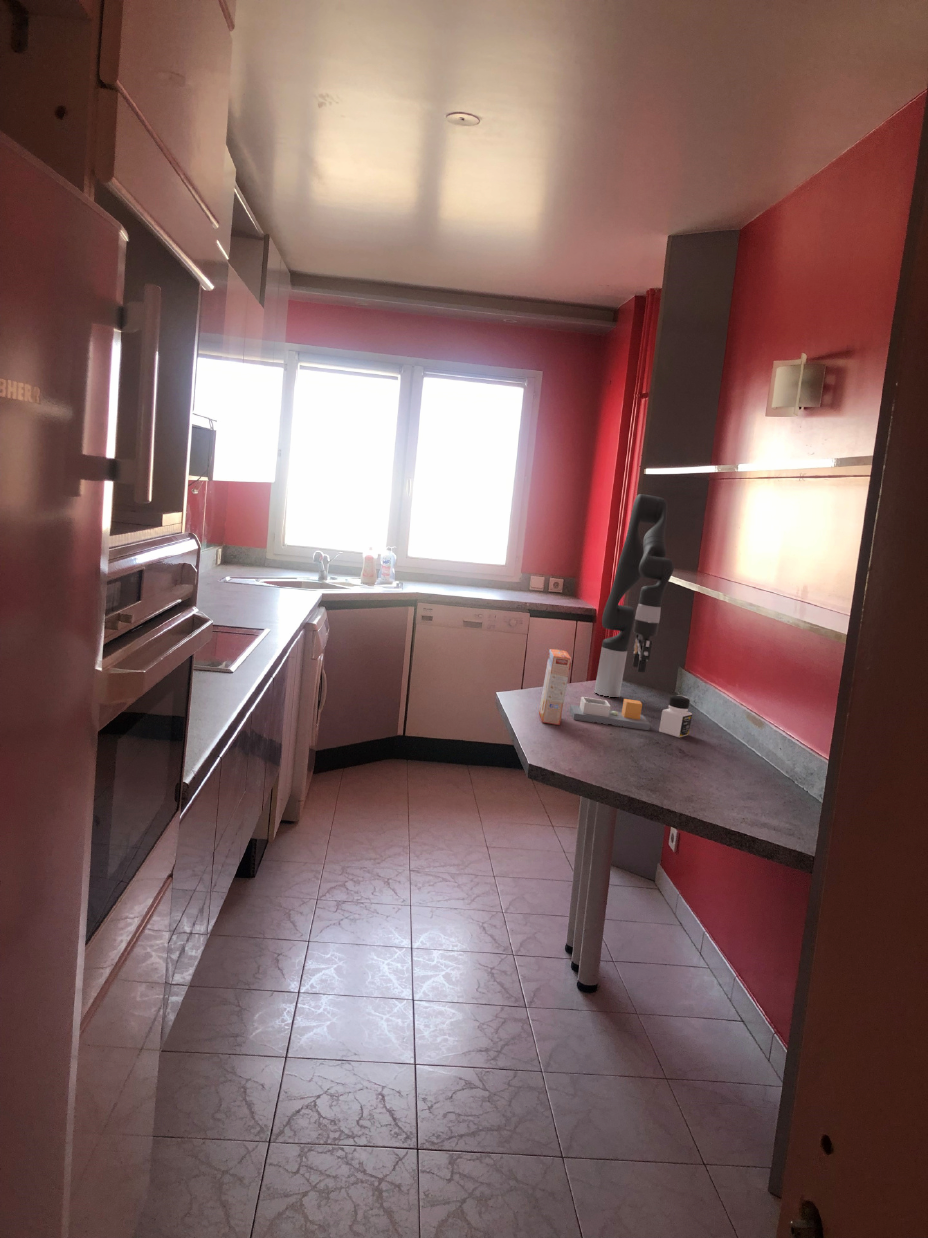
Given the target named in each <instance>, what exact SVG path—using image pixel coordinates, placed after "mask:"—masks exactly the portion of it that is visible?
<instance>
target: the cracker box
mask: <svg viewBox="0 0 928 1238" xmlns="http://www.w3.org/2000/svg"><path fill="white" fill-rule="evenodd" d="M547 657H548V658H547V663H546V668H545V675H544V679H543V680H544V681H543V686H542V693H541V697H540V703H539V709H538V713H539V716H540V721H541V723H543V724H549V725H555V726H560V725H561V721H562V720H561V719H562V714H563V709H564V704H565V697H566V692H567V687H568V680H569V675H570V670H571V664H572V658H571V656H570V654H569V652H568V651H567V650H562V649H556V648H555V649H554V648H549V651H548V656H547Z"/></svg>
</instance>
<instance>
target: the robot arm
mask: <svg viewBox="0 0 928 1238" xmlns="http://www.w3.org/2000/svg"><path fill="white" fill-rule="evenodd" d="M667 502H668V501H667V500H666V499H665V498H664V497H663V498H662V497H660V496H654V495H648V494H644V493H643V494H642V493H640V494H637V495H636V497H635V499H634V501H633V506H632V509H631V514H630V518H629V522H628V526H627V527H628V528H627V533H626V537H625V541H624V544H623V547H622V549H621V550H622V551H621V552H620V553H621V554H620V556H619V559H618V562H617V569H616V572H615V576H614V580H613V584H612V587H611V590H610V593H609V595H608V598H607V601H606V603H605V606H604V609H603V613H602V618H601V623H602V625H601V626H602V627H603V628H604V629H606V630H610V631H619V632H618V634H617V635H614V636H610V637H607V638H605V639H603V640H602V644H601V651H600V656H599V661H598V662H599V663H598V667H597V673H596V680H595V685H594V690H593V691H594V692H595V693H598V694H600V695H605V696H609V697H608V698H610V697H619V698H620V695H621V689H622V685H623V684H622V683H623V678H624V673H625V667H626V660H627V656H628V650H629V649H628V648H629V645H630V642H631V641H630V640H631V635H632V632H633V633H634V634H635V638H634V645H633V649H632V652H633V660H632V666H633V667H634V668H637V672H639V673H643V674H644V673H645V671H646V669H647V668H646V667H647V662H648V661H649V660H650V656H651V651H652V645H653V641H652V640H650V638H651V637H656V636H657V634H658V629H659V623H660V619H661V608H662V602H663V598H664V597H663V596H664V593H665V590H666V588H667V586H668V583H669V581H670V580H671V577H672V575H673V573H674V569H675V568H674V567H675V566H674V563H673V561H672V559H670V558H667V557H666V556H667V555H666V554H667V550H666V549H667V547H666V538H665V537H666V529H667V517H668V504H667ZM640 523H644V524H645V523H646V524H652V525H654V526H652V527H651V528H650V529H649V530H647V532H646V533H645V534H644V537H643V539H641V538H642V537H641V535H640ZM642 578H644V579H652V580H658V581H657V582H656V583H655V584H653V585H644V586H642V587H641V589H640V592H639V599H638V604H637V607H636V611H635V609H634V608H633V606H629V605H622V604H619V603H620V602H621V600H622V599H623V597H624V596H625V594H626V593H628V591H630V590H631V589H632V588H633V587H635V586H636V584H638V582H639V581H640V580H641V579H642ZM595 693H594V694H595ZM600 695H599V696H600Z"/></svg>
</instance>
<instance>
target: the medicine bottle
mask: <svg viewBox="0 0 928 1238" xmlns="http://www.w3.org/2000/svg"><path fill="white" fill-rule="evenodd" d="M690 702H691V701H690V699H689V698H688V697H687V696H684V695H679V694H673V695H670V697H669V702H668V708H665V709H662V712H661V718H660V722H659V729H658V731H659V732H660V733H662V734H665V735H670V736H672V737H676V738H683V737H686V736H688V735H689V734H690V728H691V723H692V718H693V713H692V712H690V711H689V706H690Z"/></svg>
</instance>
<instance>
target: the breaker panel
mask: <svg viewBox="0 0 928 1238" xmlns="http://www.w3.org/2000/svg"><path fill="white" fill-rule="evenodd" d="M588 701H591V702H598V703H601V704H595V703H588ZM568 711H569V713H570V716H571V717H572V720H574V719H575V721H581V722H588V723H594V722H597V723H596V724H601V723H603V724H602V725H608V724H612V725H611V726H614V727H622V726H623V728H629V729H630V728H631V729H637V730H643V731H650V728H651V723H650V722H649V721H648V719H647V718H646V717H645V716H644V715H643V714H641V715H640V720H639V719H632V718H625V717H623V715H622V714H621V713H622V711H616V710H611V705H610V703H609V702H608V701H607V700H605V699H600V698H593V697H586V696H581V697H580V704H579V705H575V704H570V705H569V709H568Z"/></svg>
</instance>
